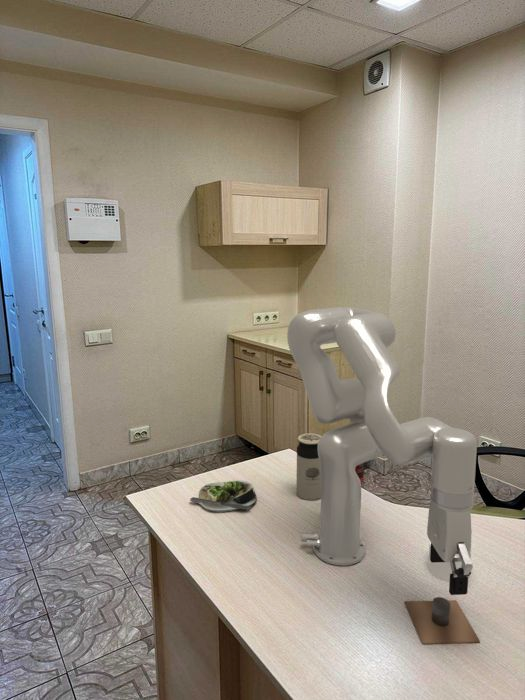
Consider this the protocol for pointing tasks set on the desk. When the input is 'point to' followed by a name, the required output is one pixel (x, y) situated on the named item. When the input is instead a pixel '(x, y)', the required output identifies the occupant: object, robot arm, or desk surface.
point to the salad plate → (226, 496)
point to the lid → (440, 622)
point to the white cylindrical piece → (443, 567)
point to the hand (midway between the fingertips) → (447, 576)
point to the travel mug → (308, 467)
